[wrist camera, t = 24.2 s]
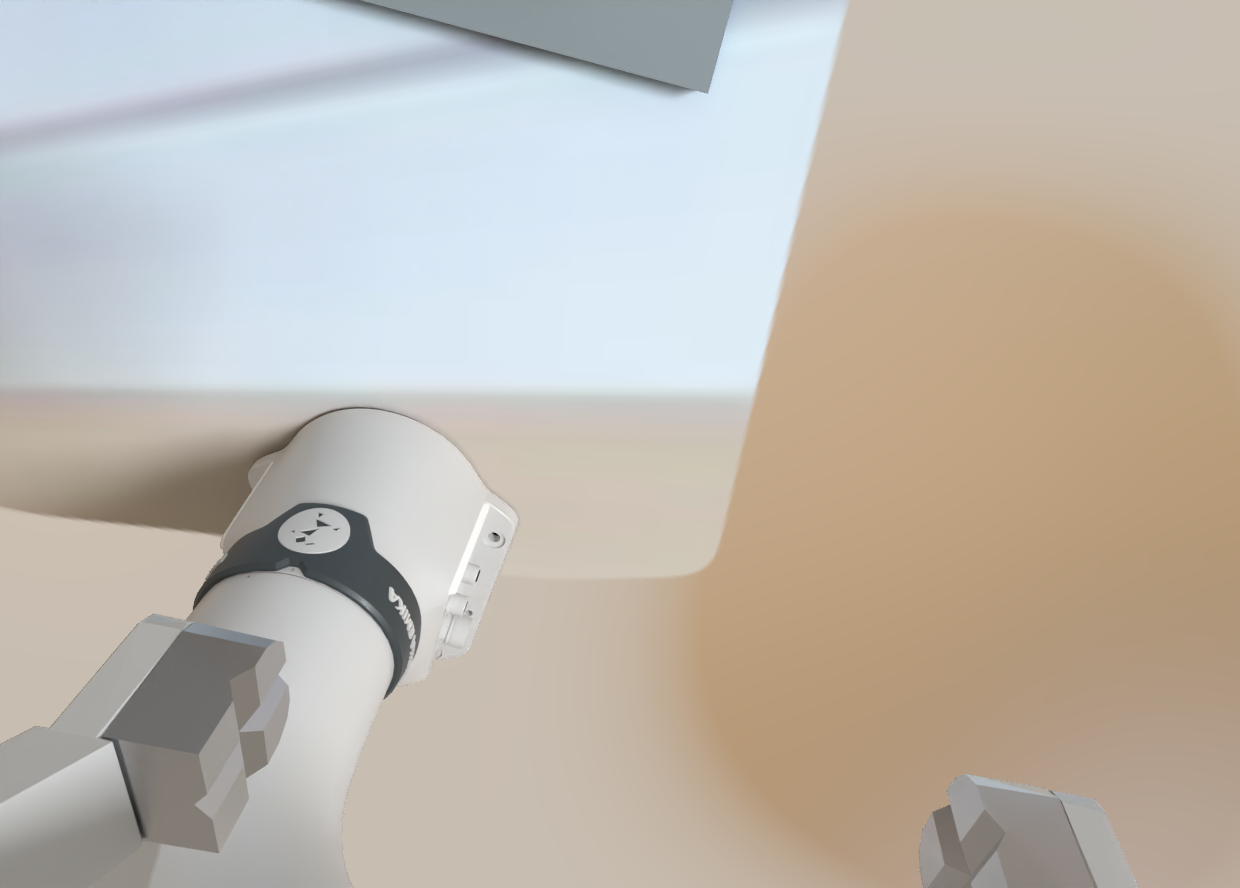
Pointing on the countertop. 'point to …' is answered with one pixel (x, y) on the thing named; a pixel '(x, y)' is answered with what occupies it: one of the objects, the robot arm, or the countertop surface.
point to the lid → (600, 31)
